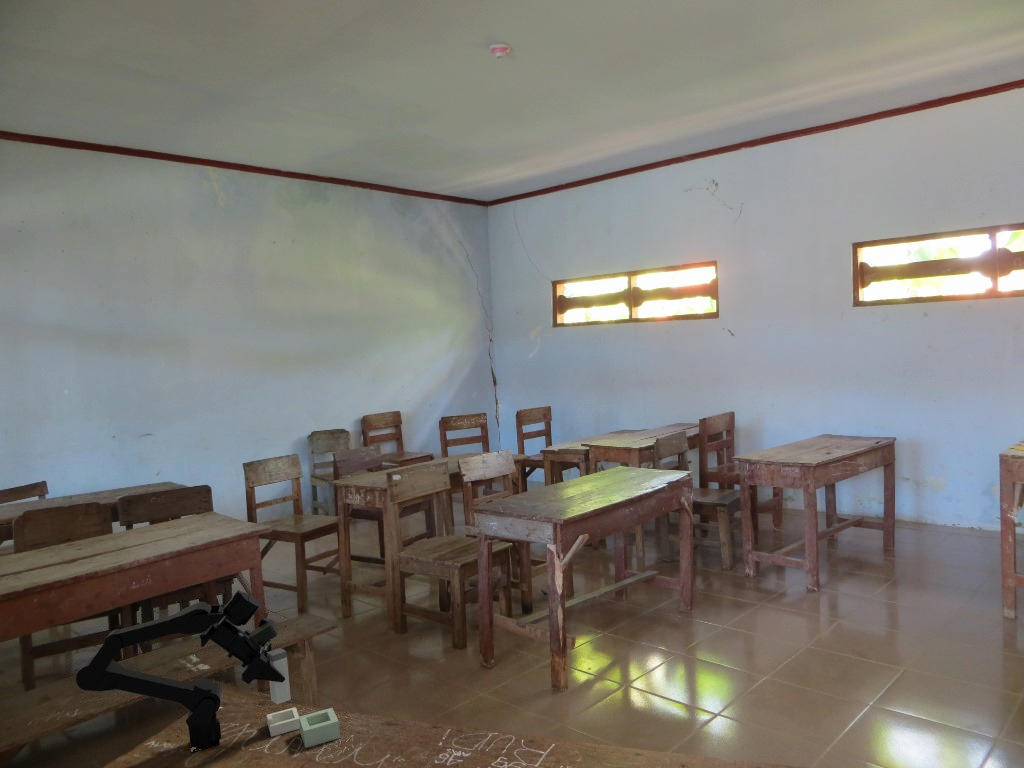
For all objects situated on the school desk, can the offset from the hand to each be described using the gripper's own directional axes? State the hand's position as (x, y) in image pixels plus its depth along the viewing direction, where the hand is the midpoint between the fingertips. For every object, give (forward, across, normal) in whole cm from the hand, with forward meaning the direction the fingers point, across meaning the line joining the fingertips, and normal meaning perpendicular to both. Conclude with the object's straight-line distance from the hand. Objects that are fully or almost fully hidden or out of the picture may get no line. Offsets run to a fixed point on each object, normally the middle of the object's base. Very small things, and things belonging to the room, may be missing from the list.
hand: (284, 676), depth 182 cm
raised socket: (+14, -9, +3) cm, 17 cm away
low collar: (+8, 0, +10) cm, 12 cm away
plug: (+3, 0, +5) cm, 6 cm away
